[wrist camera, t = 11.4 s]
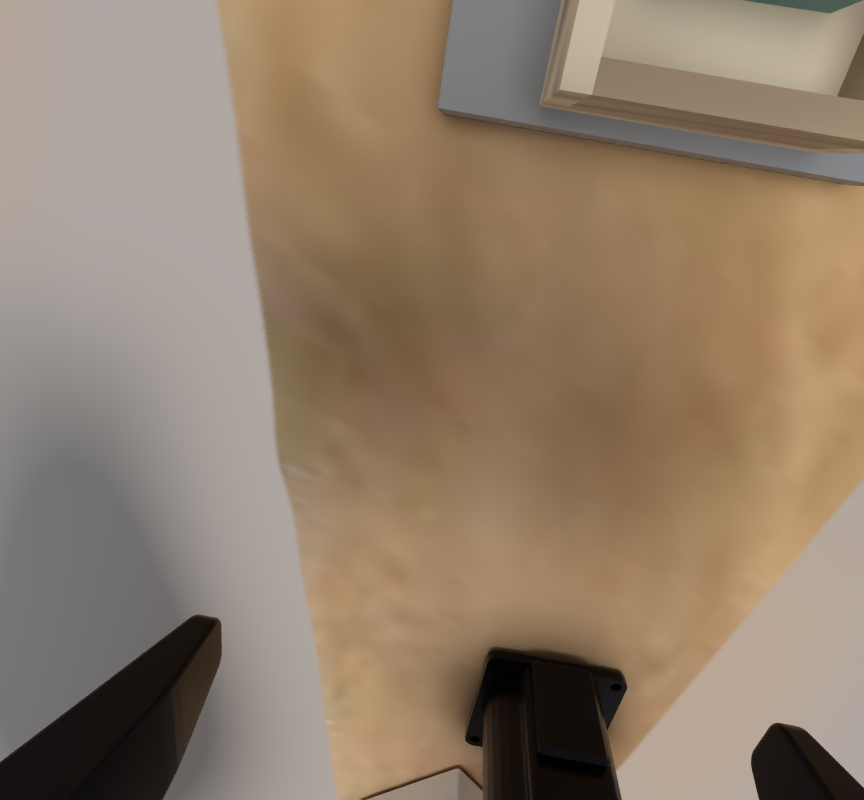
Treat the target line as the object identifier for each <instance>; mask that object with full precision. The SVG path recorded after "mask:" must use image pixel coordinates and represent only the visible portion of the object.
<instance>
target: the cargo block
mask: <svg viewBox="0 0 864 800" xmlns="http://www.w3.org/2000/svg"><path fill="white" fill-rule="evenodd" d="M744 1H751V2H757V3H764V4H771V5H777V6H784V7H790V8H797V9H803V10H810V11H817V12H823V13H833V12H835V11H838V10H840V9H843V8H845V7H848V6H850V5H853V4H855V3H858V2H860V1H863V0H744Z"/></svg>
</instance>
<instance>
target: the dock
mask: <svg viewBox="0 0 864 800" xmlns="http://www.w3.org/2000/svg"><path fill="white" fill-rule="evenodd" d="M560 4H561V0H453V3H452V10H451V17H450V24H449V31H448V37H447V44H446V51H445V58H444V65H443V72H442V79H441V86H440V93H439V100H438V107H437V108H438V109H439V110H440V111H441V112H442V113H443V114H447V115H453V116H459V117H464V118H470V119H476V120H481V121H487V122H493V123H498V124H504V125H510V126H515V127H521V128H527V129H532V130H538V131H544V132H549V133H555V134H561V135H566V136H572V137H578V138H584V139H589V140H595V141H601V142H606V143H612V144H618V145H623V146H629V147H635V148H640V149H646V150H652V151H657V152H663V153H669V154H674V155H680V156H686V157H691V158H697V159H703V160H709V161H714V162H720V163H726V164H731V165H737V166H743V167H748V168H754V169H760V170H765V171H771V172H777V173H782V174H788V175H794V176H799V177H805V178H811V179H816V180H822V181H828V182H834V183H839V184H845V185H856V186H864V154H844V153H811V152H805V151H800V150H794V149H788V148H782V147H776V146H770V145H764V144H758V143H753V142H747V141H741V140H735V139H729V138H723V137H717V136H711V135H705V134H700V133H694V132H688V131H682V130H676V129H670V128H664V127H658V126H653V125H647V124H641V123H635V122H629V121H623V120H617V119H611V118H606V117H600V116H594V115H588V114H582V113H576V112H570V111H564V110H558V109H553V108H547V107H541V106H539V103H540V99H541V94H542V89H543V84H544V80H545V75H546V70H547V66H548V61H549V56H550V51H551V47H552V42H553V37H554V32H555V28H556V23H557V18H558V14H559V9H560Z"/></svg>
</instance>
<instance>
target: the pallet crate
mask: <svg viewBox="0 0 864 800" xmlns="http://www.w3.org/2000/svg"><path fill="white" fill-rule="evenodd" d="M539 106H541V107H547V108H553V109H558V110H564V111H570V112H576V113H582V114H588V115H594V116H600V117H606V118H611V119H617V120H623V121H629V122H635V123H641V124H647V125H653V126H658V127H664V128H670V129H676V130H682V131H688V132H694V133H700V134H705V135H711V136H717V137H723V138H729V139H735V140H741V141H747V142H753V143H758V144H764V145H770V146H776V147H782V148H788V149H794V150H800V151H805V152H811V153H844V154H864V0H863V1H860V2H858V3H855V4H853V5H850V6H848V7H845V8H843V9H840V10H838V11H835V12H833V13H823V12H817V11H810V10H803V9H797V8H790V7H784V6H777V5H771V4H764V3H757V2H751V1H744V0H561V4H560V9H559V14H558V18H557V23H556V28H555V32H554V37H553V42H552V47H551V51H550V56H549V61H548V66H547V70H546V75H545V80H544V84H543V89H542V94H541V99H540V103H539Z"/></svg>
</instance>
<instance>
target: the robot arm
mask: <svg viewBox="0 0 864 800" xmlns="http://www.w3.org/2000/svg"><path fill="white" fill-rule="evenodd" d="M221 638H222V637H221V622H220V620H219V619H218V618H214V617H209V616H203V615H195V616H192V617H191V618H189V619H188V620H186V621H185V622H184V623H182V624H181V625H180V626H179V627H177V628H176V629H175V630H173V631H172V632H171V633H169V634H168V635H167V636H165V637H164V638H163V639H161V640H160V641H159V642H157V643H156V644H155V645H153V646H152V647H151V648H150V649H148V650H147V651H146V652H144V653H143V654H142V655H140V656H139V657H138V658H136V659H135V660H134V661H133V662H131V663H130V664H129V665H127V666H126V667H125V668H123V669H122V670H121V671H119V672H118V673H117V674H115V675H114V676H113V677H111V678H110V679H109V680H108V681H106V682H105V683H104V684H102V685H101V686H100V687H98V688H97V689H96V690H94V691H93V692H92V693H90V694H89V695H88V696H86V697H85V698H84V699H83V700H81V701H80V702H79V703H77V704H76V705H75V706H74V707H72V708H71V709H70V710H68V711H67V712H65V713H64V714H63V715H61V716H60V717H59V718H57V719H56V720H55V721H54V722H52V723H51V724H50V725H48V726H47V727H46V728H44V729H43V730H42V731H40V732H39V733H38V734H36V735H35V736H34V737H32V738H31V739H30V740H29V741H27V742H26V743H25V744H23V745H22V746H21V747H19V748H18V749H17V750H15V751H14V752H13V753H12V754H10V755H9V756H8V757H6V758H5V759H4V760H2V761H1V762H0V800H163V798H164V796H165V794H166V792H167V790H168V788H169V786H170V784H171V782H172V780H173V778H174V775H175V774H176V772H177V770H178V767H179V765H180V763H181V760H182V758H183V755H184V753H185V751H186V748H187V745H188V743H189V740H190V738H191V736H192V733H193V730H194V728H195V725H196V723H197V720H198V718H199V715H200V713H201V710H202V708H203V705H204V703H205V700H206V697H207V695H208V693H209V690H210V688H211V685H212V683H213V680H214V678H215V675H216V673H217V669H218V667H219V664H220V660H221V655H222V642H221V641H222V639H221ZM626 690H627V684H626V681H625V678H624V676H623V675H622V674H620V673H617V672H611V671H606V670H601V669H595V668H590V667H585V666H579V665H574V664H569V663H563V662H558V661H553V660H547V659H542V658H537V657H531V656H526V655H521V654H515V653H510V652H504V651H497V650H496V651H492V652H490V653H489V654H488V655H487V658H486V662H485V665H484V668H483V672H482V675H481V679H480V682H479V685H478V689H477V692H476V696H475V699H474V702H473V706H472V709H471V713H470V716H469V719H468V723H467V726H466V729H465V740H466V742H467V743H469V744H471V745H475V746H480V747H483V800H622V799H621V794H620V789H619V785H618V780H617V775H616V771H615V766H614V761H613V757H612V752H611V747H610V743H609V738H608V733H607V730H608V728H609V725H610V723H611V721H612V719H613V717H614V715H615V713H616V711H617V709H618V707H619V705H620V702H621V700H622V698H623V696H624V694H625V692H626ZM751 766H752V772H753V776H754V780H755V784H756V789H757V793H758V797H759V800H864V788H863V787H862V786H861V785H860V784H859V783H858V782H857V781H856V780H855V779H854V778H853V777H852V776H851V775H850V774H849V773H848V772H847V771H846V770H845V769H844V768H843V767H842V766H841V765H840V764H839V763H838V762H837V761H836V760H835V759H834V758H833V757H832V756H831V755H830V754H829V753H828V752H827V751H826V750H825V749H824V748H823V747H822V746H821V745H820V744H819V743H818V742H817V741H816V740H815V739H814V738H813V737H812V736H811V735H810V734H809V733H808V732H807V731H805V730H804V729H802V728H800V727H797V726H793V725H787V724H782V723H774V724H772V725H771V726H770V727H769V729H768V730H767V732H766V733H765V735H764V736H763V737H762V739H761V740H760V742H759V743H758V745H757V746H756V748H755V749H754V751H753V753H752V757H751Z"/></svg>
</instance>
